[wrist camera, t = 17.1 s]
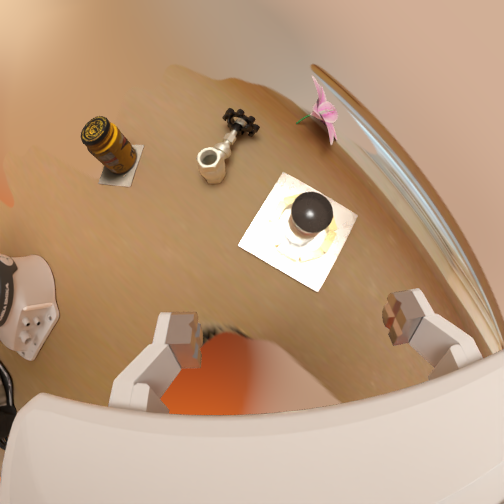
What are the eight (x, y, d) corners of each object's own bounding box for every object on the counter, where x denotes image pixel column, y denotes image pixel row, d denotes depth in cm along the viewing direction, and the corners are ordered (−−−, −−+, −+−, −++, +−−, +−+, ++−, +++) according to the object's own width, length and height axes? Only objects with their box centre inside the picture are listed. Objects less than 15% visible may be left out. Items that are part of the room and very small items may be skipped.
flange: (316, 292, 42) (321, 292, 39) (238, 246, 43) (237, 242, 40) (355, 217, 44) (363, 211, 40) (282, 174, 45) (284, 165, 41)
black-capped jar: (307, 252, 42) (322, 240, 33) (277, 236, 42) (284, 219, 33) (322, 223, 43) (339, 204, 33) (293, 207, 43) (303, 184, 34)
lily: (316, 167, 46) (356, 143, 38) (265, 122, 43) (299, 89, 34) (332, 132, 51) (366, 109, 43) (289, 93, 48) (320, 64, 39)
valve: (225, 193, 45) (259, 137, 46) (221, 177, 38) (260, 116, 39) (191, 177, 45) (226, 124, 47) (182, 160, 39) (223, 102, 40)
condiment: (144, 145, 46) (118, 110, 34) (130, 187, 45) (98, 158, 33) (113, 144, 46) (84, 112, 35) (99, 184, 45) (64, 158, 33)
